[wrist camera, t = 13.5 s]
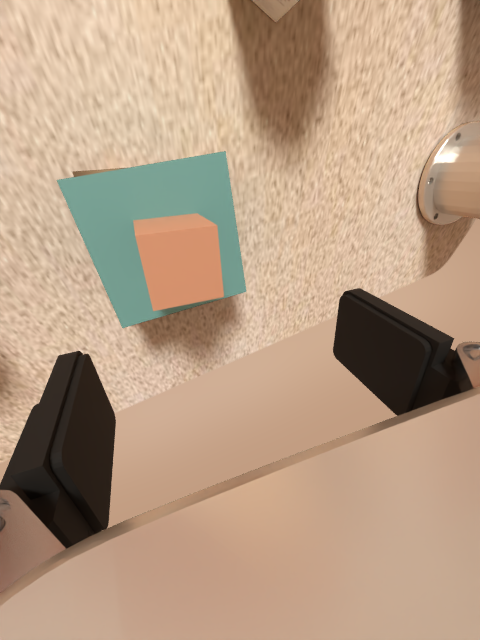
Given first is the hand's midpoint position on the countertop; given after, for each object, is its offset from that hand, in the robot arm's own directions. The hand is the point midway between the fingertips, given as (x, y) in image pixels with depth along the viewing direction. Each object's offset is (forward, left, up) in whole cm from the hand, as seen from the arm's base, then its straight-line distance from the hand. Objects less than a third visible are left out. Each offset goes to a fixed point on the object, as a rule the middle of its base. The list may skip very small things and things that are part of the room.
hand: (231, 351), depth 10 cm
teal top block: (0, 0, -20) cm, 20 cm away
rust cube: (0, 0, -16) cm, 16 cm away
